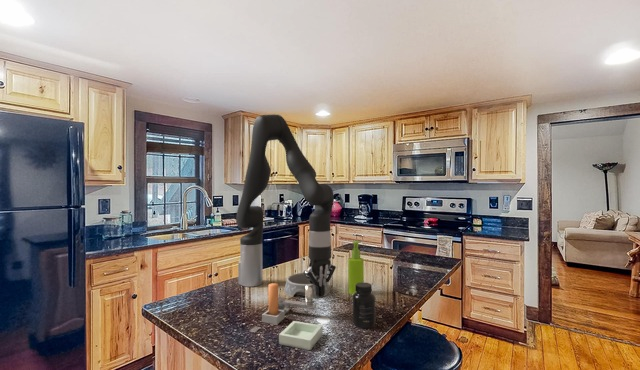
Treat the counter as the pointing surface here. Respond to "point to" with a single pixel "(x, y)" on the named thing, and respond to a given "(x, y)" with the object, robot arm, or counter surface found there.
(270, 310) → the pin
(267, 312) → the collar
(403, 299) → the counter surface
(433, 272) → the counter surface
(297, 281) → the dog bowl
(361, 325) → the supplement bottle
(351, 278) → the soap dispenser
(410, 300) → the counter surface
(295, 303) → the crank
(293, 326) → the tray
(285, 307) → the crank flange
